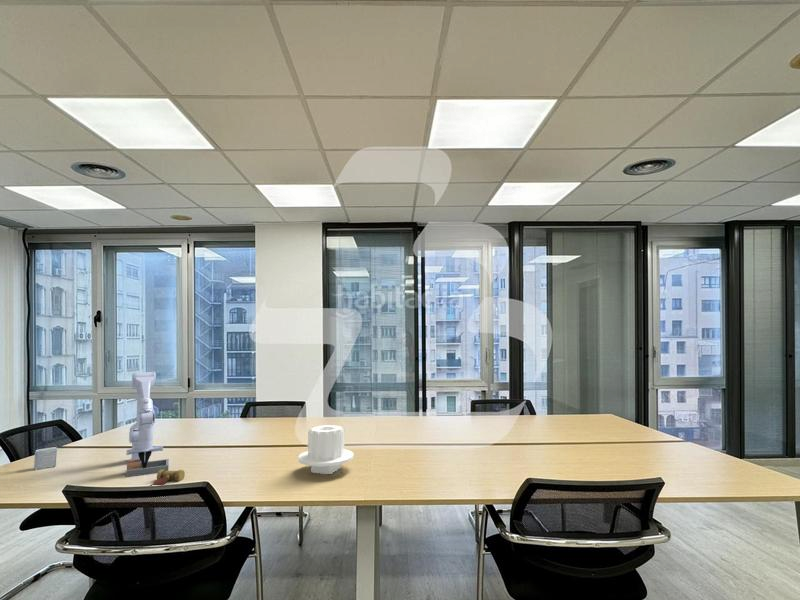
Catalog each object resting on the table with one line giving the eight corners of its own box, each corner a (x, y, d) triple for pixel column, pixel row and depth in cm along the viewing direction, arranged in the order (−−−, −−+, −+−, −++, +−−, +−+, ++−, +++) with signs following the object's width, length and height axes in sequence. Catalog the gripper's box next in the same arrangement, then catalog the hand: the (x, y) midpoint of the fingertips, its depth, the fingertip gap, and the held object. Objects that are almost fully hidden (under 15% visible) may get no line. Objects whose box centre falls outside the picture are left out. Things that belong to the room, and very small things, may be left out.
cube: (127, 471, 193) (128, 460, 193) (140, 470, 195) (140, 458, 196) (126, 474, 188) (126, 463, 189) (139, 473, 191) (139, 461, 191)
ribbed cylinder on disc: (336, 482, 177) (337, 436, 178) (286, 476, 185) (287, 432, 187) (362, 465, 200) (362, 424, 202) (316, 460, 209) (317, 421, 210)
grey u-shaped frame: (128, 469, 196) (128, 464, 196) (168, 464, 204) (168, 458, 204) (125, 477, 185) (126, 471, 186) (168, 471, 193) (168, 465, 194)
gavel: (154, 488, 163) (129, 488, 163) (154, 500, 162) (129, 500, 163) (185, 468, 184) (162, 468, 184) (184, 478, 183) (162, 478, 184)
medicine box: (55, 464, 204) (56, 446, 205) (56, 466, 201) (57, 448, 202) (33, 468, 199) (34, 449, 199) (34, 470, 195) (35, 451, 196)
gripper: (126, 442, 188) (124, 473, 187) (163, 438, 195) (162, 468, 194) (127, 439, 194) (126, 469, 193) (163, 435, 201) (162, 464, 200)
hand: (144, 468), depth 194 cm, fingers closed
